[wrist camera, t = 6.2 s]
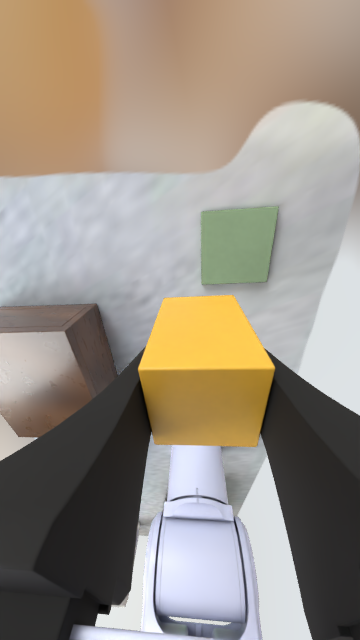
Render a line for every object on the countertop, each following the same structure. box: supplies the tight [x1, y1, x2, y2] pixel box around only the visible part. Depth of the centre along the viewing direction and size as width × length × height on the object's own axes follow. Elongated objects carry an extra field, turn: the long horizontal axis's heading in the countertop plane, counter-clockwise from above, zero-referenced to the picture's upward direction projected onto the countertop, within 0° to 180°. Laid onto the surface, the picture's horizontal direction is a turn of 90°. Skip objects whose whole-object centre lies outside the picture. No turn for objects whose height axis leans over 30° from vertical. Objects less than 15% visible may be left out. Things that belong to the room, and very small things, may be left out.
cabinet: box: [0, 304, 118, 437], centre depth 21 cm, size 15×11×6 cm
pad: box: [201, 206, 279, 285], centre depth 16 cm, size 6×6×1 cm
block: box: [138, 295, 275, 447], centre depth 10 cm, size 4×4×6 cm
